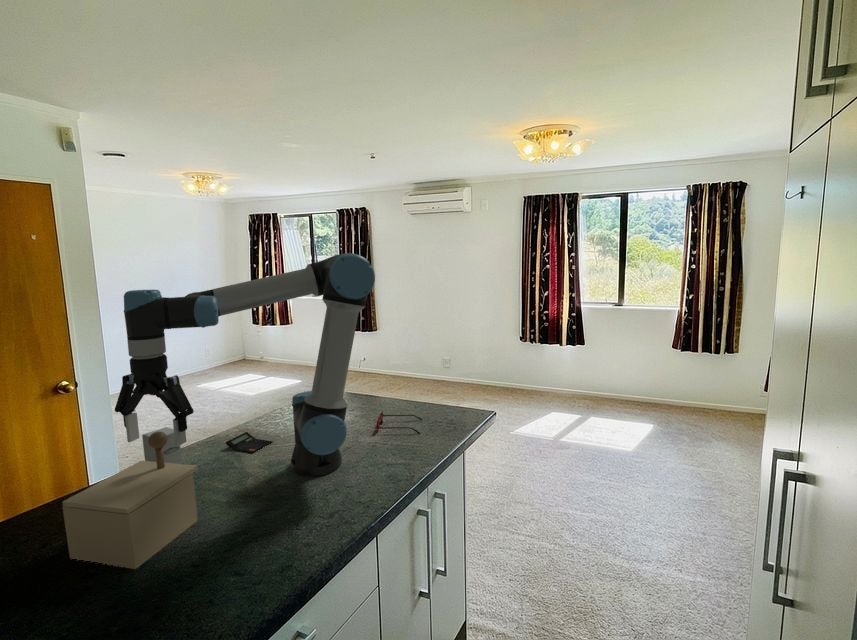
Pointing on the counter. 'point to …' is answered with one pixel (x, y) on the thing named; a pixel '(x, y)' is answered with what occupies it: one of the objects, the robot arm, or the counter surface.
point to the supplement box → (169, 449)
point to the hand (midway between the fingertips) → (156, 442)
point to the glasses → (391, 427)
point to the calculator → (247, 443)
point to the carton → (131, 528)
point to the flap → (133, 483)
